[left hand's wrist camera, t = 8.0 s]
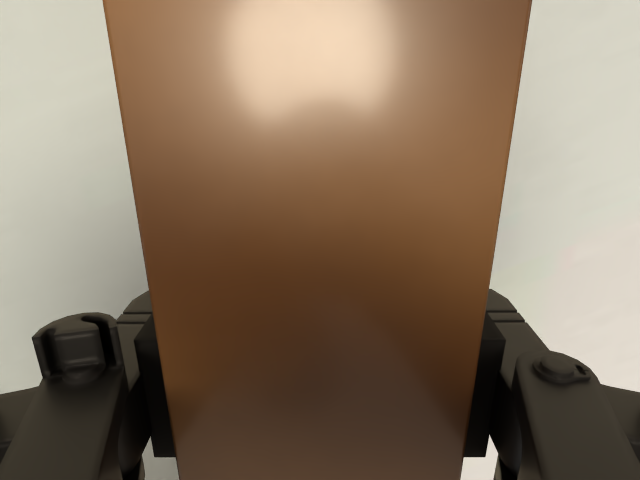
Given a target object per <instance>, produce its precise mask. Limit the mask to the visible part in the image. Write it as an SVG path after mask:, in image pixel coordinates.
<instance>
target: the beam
mask: <svg viewBox="0 0 640 480" xmlns="http://www.w3.org/2000/svg"><path fill="white" fill-rule="evenodd" d="M531 4H532V0H103V6H104V12H105V18H106V25H107V31H108V37H109V43H110V50H111V56H112V62H113V68H114V74H115V81H116V87H117V93H118V99H119V106H120V112H121V118H122V124H123V131H124V137H125V143H126V149H127V156H128V162H129V168H130V174H131V180H132V187H133V193H134V199H135V205H136V212H137V218H138V224H139V230H140V237H141V243H142V249H143V255H144V262H145V268H146V274H147V280H148V286H149V293H150V299H151V305H152V311H153V318H154V324H155V330H156V336H157V343H158V349H159V355H160V361H161V368H162V374H163V380H164V386H165V392H166V399H167V405H168V411H169V417H170V424H171V430H172V436H173V442H174V449H175V455H176V461H177V467H178V474H179V480H460V478H461V471H462V464H463V458H464V451H465V444H466V438H467V431H468V424H469V418H470V411H471V404H472V398H473V391H474V384H475V378H476V371H477V364H478V358H479V351H480V344H481V338H482V331H483V324H484V318H485V311H486V304H487V298H488V291H489V284H490V278H491V271H492V264H493V258H494V251H495V244H496V238H497V231H498V224H499V218H500V211H501V204H502V198H503V191H504V184H505V178H506V171H507V164H508V158H509V151H510V144H511V138H512V131H513V124H514V118H515V111H516V104H517V98H518V91H519V84H520V78H521V71H522V64H523V58H524V51H525V44H526V38H527V31H528V24H529V18H530V11H531Z"/></svg>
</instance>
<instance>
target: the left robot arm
mask: <svg viewBox="0 0 640 480" xmlns="http://www.w3.org/2000/svg"><path fill="white" fill-rule="evenodd" d="M32 341H33V344H34V348H35V351H36V355H37V359H38V362H39V366H40V370H41V373H42V377H43V379H42V381H41V383H40V385H39V386H38V387H34V388H30V389H25V390H20V391H15V392H10V393H5V394H0V480H144V479H145V470H144V464H143V458H142V453H143V451H144V449H145V447H146V445H147V443H148V440H149V438H150V436H151V441H152V446H153V452H154V457H176V455H175V449H174V442H173V436H172V430H171V424H170V417H169V411H168V405H167V399H166V392H165V386H164V380H163V374H162V368H161V361H160V355H159V349H158V343H157V336H156V330H155V324H154V318H153V311H152V305H151V299H150V293H149V291H147V292H145V293H144V294H142V295H141V296H139V297H137V298H136V299H134V300H132V302H131V303H130V304H129V305H128V307H127V308H126V309H125V310H124V312H123V314H121V315H120V316H119V318H118V319H117V320H116V319H114V318H113V317H112V316H110V315H108V314H103V313H98V312H97V313H81V314H76V315H71V316H67V317H64V318H61V319H59V320H56V321H53V322H51V323H50V324H48V325H46V326H45V327H43V328H41V329H40V330H39V331H38V332H37V333H36V334H35V335H34V336H33V337H32ZM489 434H490V436H491V439H492V441H493V443H494V445H495V447H496V449H497V452H498V458H497V464H496V469H495V474H494V479H493V480H640V392H635V391H630V390H625V389H620V388H615V387H610V386H606V385H602V384H600V382H599V380H598V378H597V377H596V375H595V374H594V373H593V372H592V370H591V369H590V368H589V367H587V366H586V365H584V364H583V363H581V362H580V361H578V360H577V359H574V358H572V357H570V356H567V355H565V354H562V353H558V352H554V351H550V350H549V349H548V348H547V347H546V345H545V344H544V343H543V342H542V341H541V339H540V338H539V337H538V336H537V334H536V333H535V332H534V331H533V330H532V328H531V327H530V326H529V325H528V323H525V320H524V319H523V317H522V316H521V315H520V314H519V313H517V310H516V309H515V307H514V306H513V305H512V304H511V303H510V301H509V300H508V299H507V298H505V297H504V296H502V295H500V294H499V293H497V292H495V291H494V290H492V289H489V291H488V298H487V304H486V311H485V318H484V324H483V331H482V338H481V344H480V351H479V358H478V364H477V371H476V378H475V384H474V391H473V398H472V404H471V411H470V418H469V424H468V431H467V438H466V444H465V451H464V457H485V456H486V450H487V445H488V439H489Z"/></svg>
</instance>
